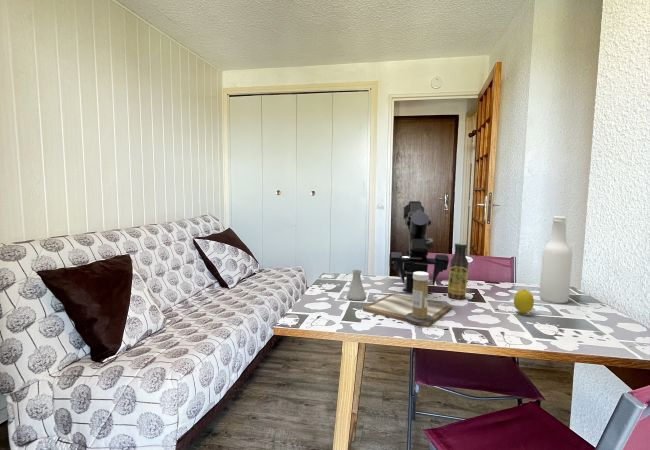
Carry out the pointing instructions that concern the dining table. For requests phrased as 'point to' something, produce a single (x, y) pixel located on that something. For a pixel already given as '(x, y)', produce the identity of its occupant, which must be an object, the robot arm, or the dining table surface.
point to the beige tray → (406, 309)
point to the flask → (356, 287)
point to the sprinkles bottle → (420, 294)
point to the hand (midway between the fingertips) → (418, 283)
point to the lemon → (523, 301)
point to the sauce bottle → (458, 272)
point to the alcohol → (556, 265)
